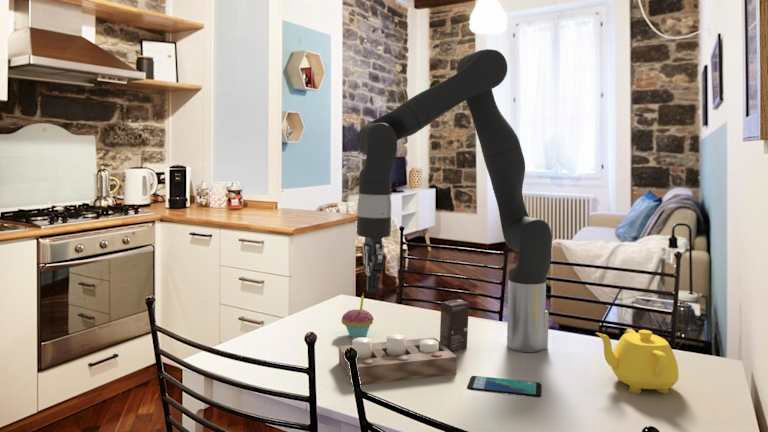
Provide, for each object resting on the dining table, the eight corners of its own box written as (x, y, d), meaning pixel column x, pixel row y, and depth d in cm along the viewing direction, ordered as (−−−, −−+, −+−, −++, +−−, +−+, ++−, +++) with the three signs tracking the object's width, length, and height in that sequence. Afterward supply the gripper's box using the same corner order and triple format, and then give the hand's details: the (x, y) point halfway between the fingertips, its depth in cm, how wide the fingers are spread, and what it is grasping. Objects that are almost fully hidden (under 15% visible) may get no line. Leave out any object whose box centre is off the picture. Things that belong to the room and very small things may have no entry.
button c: (369, 355, 129) (369, 336, 129) (374, 361, 125) (374, 342, 124) (350, 356, 128) (350, 338, 127) (354, 363, 124) (354, 344, 123)
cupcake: (379, 334, 154) (379, 291, 152) (361, 342, 146) (361, 297, 145) (353, 328, 158) (353, 287, 157) (335, 337, 151) (334, 293, 150)
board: (434, 353, 139) (434, 336, 138) (456, 373, 125) (456, 355, 125) (339, 362, 132) (338, 345, 132) (351, 385, 119) (351, 366, 118)
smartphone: (471, 375, 124) (541, 382, 120) (471, 378, 124) (541, 385, 120) (466, 387, 117) (541, 395, 113) (466, 391, 117) (541, 399, 113)
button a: (434, 356, 133) (434, 338, 133) (441, 363, 129) (441, 344, 129) (417, 358, 132) (417, 340, 132) (423, 365, 128) (423, 346, 128)
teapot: (620, 367, 129) (622, 317, 128) (687, 385, 119) (690, 331, 118) (592, 384, 119) (595, 330, 118) (663, 405, 109) (667, 346, 108)
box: (450, 353, 139) (451, 305, 137) (439, 347, 142) (439, 301, 141) (469, 348, 142) (469, 302, 141) (457, 343, 146) (457, 298, 144)
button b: (402, 351, 131) (402, 333, 131) (408, 358, 127) (408, 339, 126) (384, 353, 130) (384, 335, 130) (389, 360, 126) (389, 341, 125)
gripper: (399, 217, 118) (396, 298, 120) (382, 212, 131) (380, 284, 133) (364, 217, 116) (362, 299, 118) (351, 211, 129) (349, 285, 130)
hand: (371, 291), depth 125 cm, fingers closed
